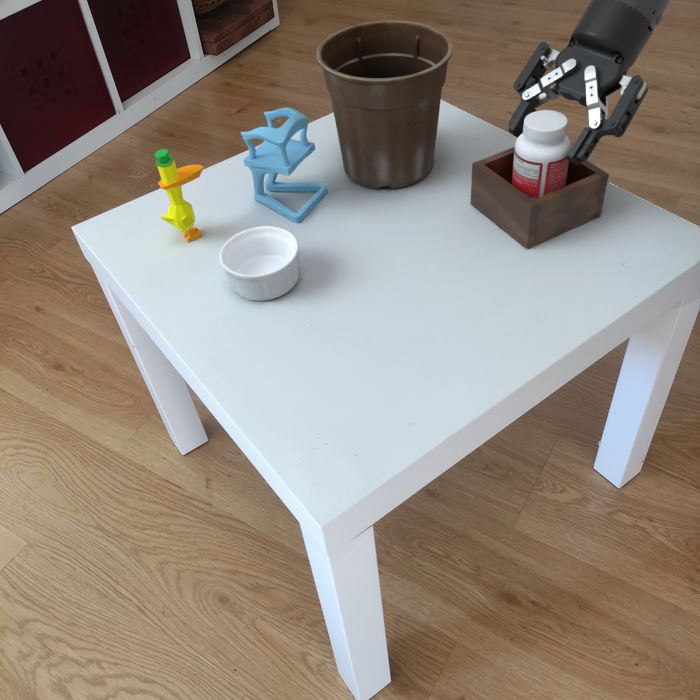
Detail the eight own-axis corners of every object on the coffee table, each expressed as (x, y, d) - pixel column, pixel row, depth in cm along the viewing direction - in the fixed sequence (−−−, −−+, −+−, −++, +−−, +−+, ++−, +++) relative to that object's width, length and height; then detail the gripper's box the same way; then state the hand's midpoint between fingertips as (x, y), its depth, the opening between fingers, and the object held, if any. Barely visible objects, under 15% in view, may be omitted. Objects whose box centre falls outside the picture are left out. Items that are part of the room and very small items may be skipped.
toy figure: (211, 218, 92) (188, 133, 84) (224, 230, 90) (202, 144, 82) (163, 239, 90) (135, 154, 81) (176, 253, 88) (147, 167, 79)
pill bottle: (560, 189, 89) (572, 105, 81) (564, 219, 85) (577, 133, 77) (508, 189, 90) (516, 106, 82) (510, 219, 86) (518, 134, 78)
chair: (276, 178, 98) (261, 94, 89) (329, 190, 94) (319, 104, 86) (244, 209, 93) (225, 124, 84) (299, 223, 90) (285, 136, 81)
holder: (540, 175, 93) (545, 134, 89) (600, 216, 86) (609, 174, 82) (470, 204, 90) (472, 163, 85) (526, 249, 83) (531, 207, 78)
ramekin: (287, 310, 79) (281, 280, 76) (214, 299, 81) (205, 270, 78) (314, 260, 85) (309, 230, 81) (244, 251, 87) (237, 221, 84)
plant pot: (474, 156, 97) (480, 36, 86) (401, 215, 89) (396, 91, 78) (380, 124, 105) (374, 10, 94) (305, 175, 97) (288, 58, 86)
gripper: (558, -21, 79) (480, 114, 83) (673, 12, 71) (581, 160, 75) (582, 13, 85) (508, 138, 89) (691, 47, 77) (604, 183, 81)
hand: (542, 148), depth 82 cm, fingers open, 8 cm apart
